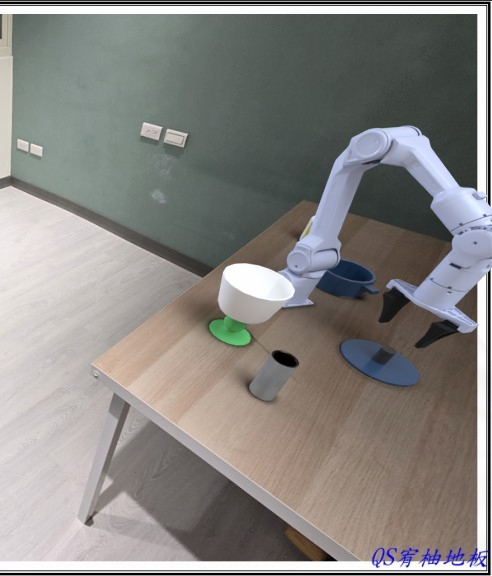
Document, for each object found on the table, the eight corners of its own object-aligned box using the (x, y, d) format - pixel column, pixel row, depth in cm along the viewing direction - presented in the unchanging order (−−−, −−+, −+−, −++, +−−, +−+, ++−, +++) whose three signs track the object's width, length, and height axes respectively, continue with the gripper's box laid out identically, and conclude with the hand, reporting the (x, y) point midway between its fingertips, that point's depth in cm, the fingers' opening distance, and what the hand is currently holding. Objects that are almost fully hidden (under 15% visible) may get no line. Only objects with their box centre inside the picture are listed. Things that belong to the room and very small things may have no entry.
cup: (186, 319, 95) (209, 267, 85) (231, 309, 98) (258, 259, 88) (227, 358, 85) (258, 305, 75) (275, 347, 87) (311, 294, 78)
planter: (251, 379, 80) (273, 346, 74) (275, 390, 78) (301, 357, 71) (246, 393, 77) (269, 359, 71) (271, 405, 75) (298, 371, 68)
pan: (345, 307, 99) (357, 291, 96) (292, 269, 113) (301, 254, 110) (385, 302, 101) (398, 286, 97) (328, 265, 114) (338, 250, 111)
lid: (379, 392, 77) (393, 377, 75) (324, 345, 88) (335, 331, 85) (433, 384, 79) (449, 370, 76) (373, 339, 90) (385, 325, 87)
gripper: (513, 304, 66) (455, 357, 74) (425, 260, 77) (383, 309, 86) (480, 308, 65) (425, 361, 73) (396, 263, 76) (356, 312, 85)
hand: (400, 333), depth 79 cm, fingers open, 7 cm apart
